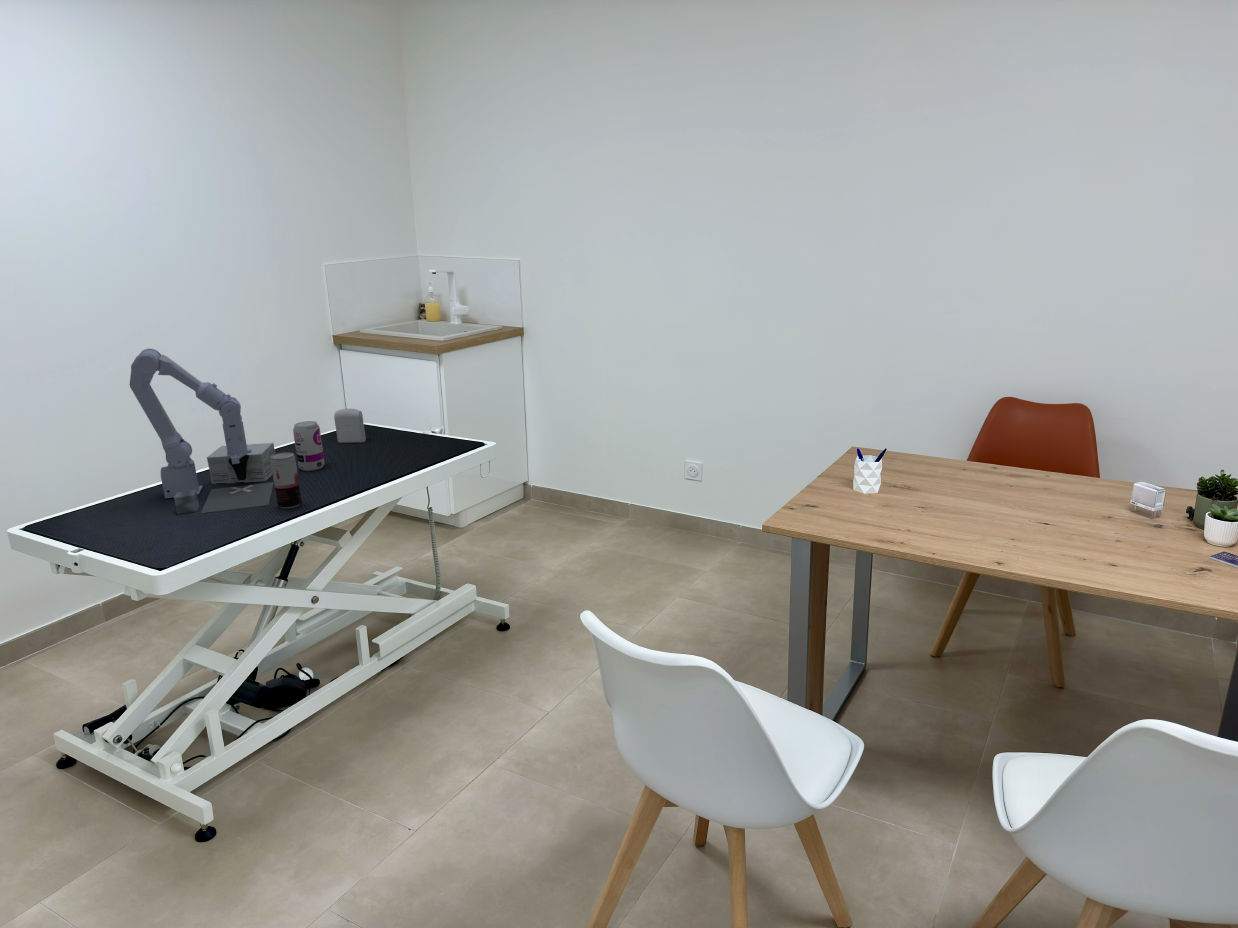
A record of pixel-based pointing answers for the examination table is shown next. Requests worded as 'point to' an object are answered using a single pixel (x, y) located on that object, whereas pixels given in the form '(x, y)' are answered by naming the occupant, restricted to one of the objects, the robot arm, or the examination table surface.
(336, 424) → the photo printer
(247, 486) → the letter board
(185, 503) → the slate cube
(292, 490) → the beverage can
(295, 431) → the supplement can
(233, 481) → the supplement box
